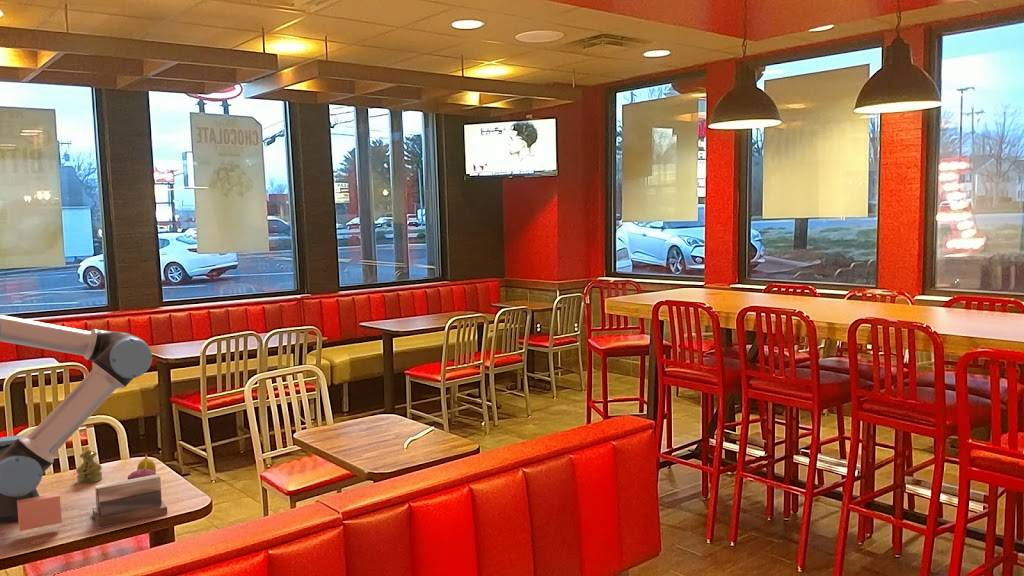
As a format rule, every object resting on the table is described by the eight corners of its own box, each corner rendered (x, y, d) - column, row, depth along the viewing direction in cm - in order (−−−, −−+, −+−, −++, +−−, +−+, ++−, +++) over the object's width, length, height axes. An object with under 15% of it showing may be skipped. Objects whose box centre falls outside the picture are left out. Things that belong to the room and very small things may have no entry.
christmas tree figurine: (107, 477, 270) (105, 448, 268) (91, 484, 262) (89, 455, 261) (88, 475, 271) (86, 446, 270) (71, 483, 264) (69, 453, 263)
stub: (18, 527, 222) (16, 500, 221) (60, 519, 228) (58, 492, 227) (19, 531, 220) (17, 503, 219) (61, 522, 226) (59, 495, 225)
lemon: (144, 478, 268) (142, 455, 267) (159, 479, 267) (158, 455, 266) (134, 484, 263) (132, 460, 262) (150, 485, 262) (148, 461, 261)
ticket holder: (92, 514, 237) (90, 481, 236) (158, 501, 247) (156, 469, 246) (99, 528, 227) (97, 493, 226) (167, 513, 238) (165, 480, 237)
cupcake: (146, 485, 262) (144, 449, 260) (163, 489, 257) (161, 453, 256) (122, 493, 254) (120, 456, 253) (139, 498, 250) (136, 460, 249)
